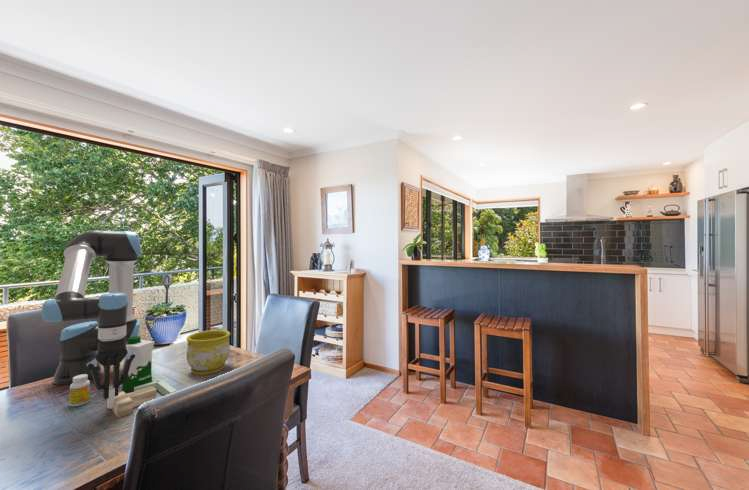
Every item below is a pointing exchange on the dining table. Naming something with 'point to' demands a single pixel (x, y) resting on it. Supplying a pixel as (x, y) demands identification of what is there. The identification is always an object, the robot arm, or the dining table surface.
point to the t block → (132, 400)
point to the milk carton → (138, 363)
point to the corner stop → (157, 387)
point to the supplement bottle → (79, 390)
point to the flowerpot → (208, 351)
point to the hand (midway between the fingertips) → (110, 406)
